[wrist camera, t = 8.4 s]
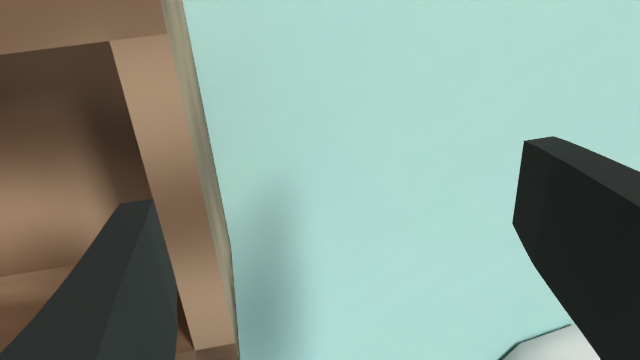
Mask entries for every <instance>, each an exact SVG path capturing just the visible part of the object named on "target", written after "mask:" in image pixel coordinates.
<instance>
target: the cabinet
mask: <svg viewBox="0 0 640 360" xmlns="http://www.w3.org/2000/svg"><path fill="white" fill-rule="evenodd" d="M147 199H154V203H155V206H156V210H157V213H158V217H159V221H160V224H161V228H162V232H163V235H164V239H165V242H166V246H167V250H168V253H169V257H170V260H171V264H172V268H173V271H174V275H175V279H176V289H177V317H178V332H177V344H176V355H175V360H240V352H239V339H238V327H237V315H236V303H235V291H234V278H233V266H232V254H231V245H230V240H229V235H228V230H227V225H226V220H225V215H224V210H223V205H222V200H221V195H220V190H219V185H218V179H217V174H216V169H215V164H214V159H213V154H212V149H211V144H210V139H209V134H208V129H207V124H206V119H205V114H204V109H203V104H202V99H201V94H200V89H199V84H198V79H197V74H196V68H195V63H194V58H193V53H192V48H191V43H190V38H189V33H188V28H187V23H186V18H185V13H184V8H183V3H182V0H0V353H1V352H2V351H3V350H4V349H5V348H6V347H7V346H8V345H9V344H10V343H11V342H12V341H13V340H14V339H15V338H16V336H17V335H18V334H19V333H20V332H21V331H22V330H23V329H24V328H25V327H26V326H27V325H28V324H29V322H30V321H31V320H32V319H33V318H34V317H35V316H36V314H37V313H38V312H39V311H40V309H41V308H42V307H43V306H44V305H45V303H46V302H47V301H48V300H49V299H50V297H51V296H52V295H53V294H54V293H55V291H56V290H57V289H58V288H59V287H60V285H61V284H62V283H63V281H64V280H65V279H66V277H67V276H68V275H69V273H70V272H71V271H72V269H73V268H74V267H75V265H76V264H77V263H78V261H79V260H80V259H81V257H82V256H83V255H84V253H85V252H86V250H87V249H88V248H89V246H90V245H91V243H92V242H93V241H94V239H95V238H96V236H97V235H98V233H99V232H100V231H101V229H102V228H103V226H104V225H105V223H106V222H107V220H108V219H109V218H110V216H111V215H112V213H113V212H114V211H115V209H116V208H117V207H118V205H119V204H122V203H128V202H134V201H141V200H147Z"/></svg>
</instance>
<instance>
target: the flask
mask: <svg viewBox="0 0 640 360" xmlns="http://www.w3.org/2000/svg"><path fill="white" fill-rule="evenodd" d="M503 360H600V358H599V356H598V355H597V353H596V352H595V351H594V349H593V348H592V346H591V345H590V344H589V342H588V341H587V339H586V338H585V337H584V335H583V334H582V332H581V331H580V330H579V328H578V327H577V326H576V324H574V325H571V326H568V327H565V328H562V329H560V330H557V331H554V332H551V333H548V334H545V335H542V336H540V337H537V338H534V339H531V340H528V341H525V342H523V343H520V344H519V345H518V346H517V347H516V348H515V349H514V350H513V351H511V352H510V353H509V354H508V355H507V356H506V357H505V358H504V359H503Z"/></svg>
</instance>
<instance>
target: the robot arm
mask: <svg viewBox="0 0 640 360" xmlns="http://www.w3.org/2000/svg"><path fill="white" fill-rule="evenodd" d="M512 224H513V226H514V228H515V230H516V232H517V234H518V236H519V238H520V240H521V242H522V244H523V246H524V248H525V250H526V252H527V254H528V256H529V257H530V259H531V261H532V263H533V265H534V266H535V268H536V269H537V271H538V272H539V274H540V275H541V276H542V278H543V279H544V281H545V282H546V284H547V285H548V286H549V288H550V289H551V291H552V292H553V293H554V295H555V296H556V298H557V299H558V300H559V302H560V303H561V305H562V306H563V307H564V309H565V310H566V312H567V313H568V314H569V316H570V317H571V319H572V320H573V321H574V323H575V324H576V326H577V327H578V328H579V330H580V331H581V332H582V334H583V335H584V337H585V338H586V339H587V341H588V342H589V344H590V345H591V346H592V348H593V349H594V351H595V352H596V353H597V355H598V356H599V358H600V360H640V172H639V171H636V170H634V169H632V168H629V167H627V166H625V165H623V164H620V163H618V162H616V161H613V160H611V159H609V158H607V157H604V156H602V155H600V154H597V153H595V152H593V151H590V150H588V149H586V148H583V147H581V146H578V145H576V144H573V143H571V142H568V141H566V140H563V139H560V138H557V137H546V138H540V139H533V140H527V141H524V145H523V152H522V159H521V166H520V173H519V180H518V187H517V195H516V202H515V209H514V216H513V223H512ZM177 332H178V317H177V289H176V279H175V275H174V271H173V268H172V264H171V260H170V257H169V253H168V250H167V246H166V242H165V239H164V235H163V232H162V228H161V224H160V221H159V217H158V213H157V210H156V206H155V203H154V199H147V200H141V201H134V202H128V203H122V204H119V205H118V207H117V208H116V209H115V211H114V212H113V213H112V215H111V216H110V218H109V219H108V220H107V222H106V223H105V225H104V226H103V228H102V229H101V231H100V232H99V233H98V235H97V236H96V238H95V239H94V241H93V242H92V243H91V245H90V246H89V248H88V249H87V250H86V252H85V253H84V255H83V256H82V257H81V259H80V260H79V261H78V263H77V264H76V265H75V267H74V268H73V269H72V271H71V272H70V273H69V275H68V276H67V277H66V279H65V280H64V281H63V283H62V284H61V285H60V287H59V288H58V289H57V290H56V291H55V293H54V294H53V295H52V296H51V297H50V299H49V300H48V301H47V302H46V303H45V305H44V306H43V307H42V308H41V309H40V311H39V312H38V313H37V314H36V316H35V317H34V318H33V319H32V320H31V321H30V322H29V324H28V325H27V326H26V327H25V328H24V329H23V330H22V331H21V332H20V333H19V334H18V335H17V336H16V338H15V339H14V340H13V341H12V342H11V343H10V344H9V345H8V346H7V347H6V348H5V349H4V350H3V351H2V352H1V353H0V360H175V355H176V344H177Z"/></svg>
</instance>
